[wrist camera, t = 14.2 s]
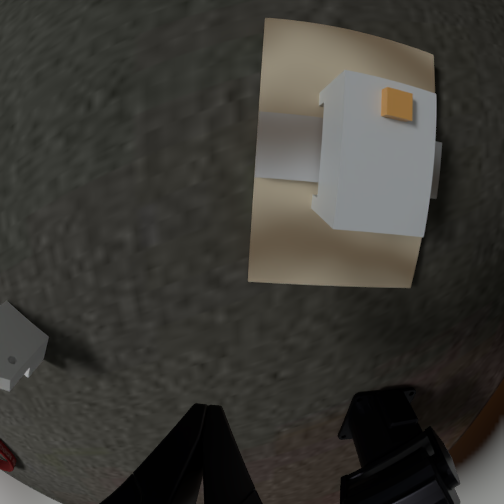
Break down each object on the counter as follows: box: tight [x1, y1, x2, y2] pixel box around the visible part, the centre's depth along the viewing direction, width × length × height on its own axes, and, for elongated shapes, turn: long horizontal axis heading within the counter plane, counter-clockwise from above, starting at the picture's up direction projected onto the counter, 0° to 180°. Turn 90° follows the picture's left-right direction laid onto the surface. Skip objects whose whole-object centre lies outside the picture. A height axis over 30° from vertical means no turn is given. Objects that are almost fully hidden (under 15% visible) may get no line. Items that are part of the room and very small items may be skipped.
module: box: [311, 70, 436, 237], centre depth 13 cm, size 7×4×6 cm
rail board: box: [248, 18, 442, 288], centre depth 16 cm, size 16×11×2 cm
